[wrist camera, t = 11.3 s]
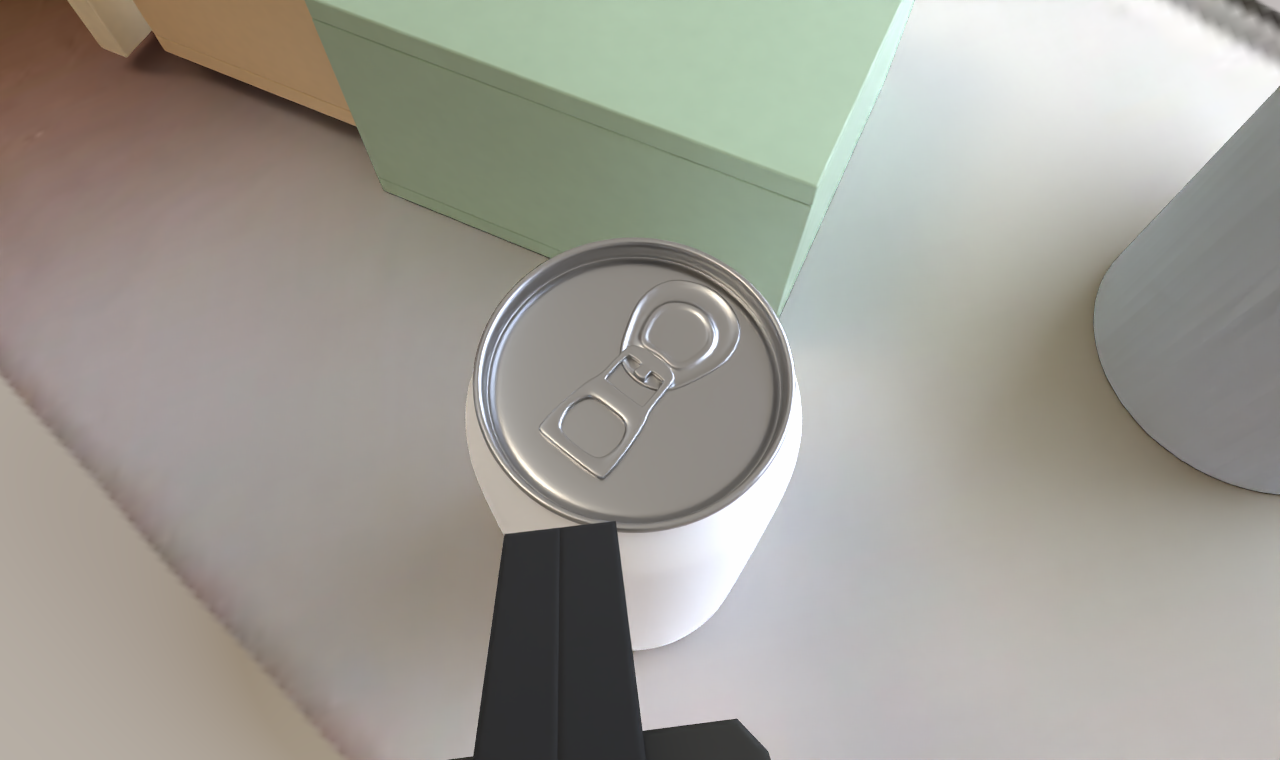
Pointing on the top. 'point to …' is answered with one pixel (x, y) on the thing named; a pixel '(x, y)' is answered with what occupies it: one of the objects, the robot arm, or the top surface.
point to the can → (639, 418)
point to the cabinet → (618, 115)
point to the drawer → (229, 42)
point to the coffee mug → (1206, 314)
